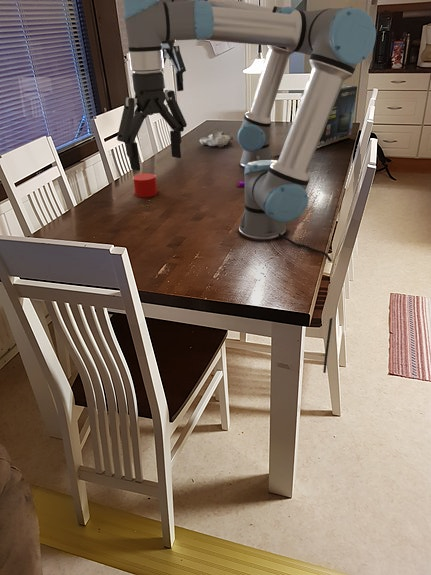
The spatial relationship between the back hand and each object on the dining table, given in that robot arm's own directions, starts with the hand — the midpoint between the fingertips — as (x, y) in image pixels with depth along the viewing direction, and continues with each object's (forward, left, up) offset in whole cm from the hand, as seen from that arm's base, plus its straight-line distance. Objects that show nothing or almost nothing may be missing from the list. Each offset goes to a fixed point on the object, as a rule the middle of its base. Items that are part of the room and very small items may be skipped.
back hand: (171, 89), depth 193 cm
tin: (+26, +17, -35) cm, 47 cm away
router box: (-85, +13, -35) cm, 93 cm away
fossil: (-42, -27, -35) cm, 61 cm away
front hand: (+52, +76, -5) cm, 92 cm away
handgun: (-7, +45, -35) cm, 57 cm away
